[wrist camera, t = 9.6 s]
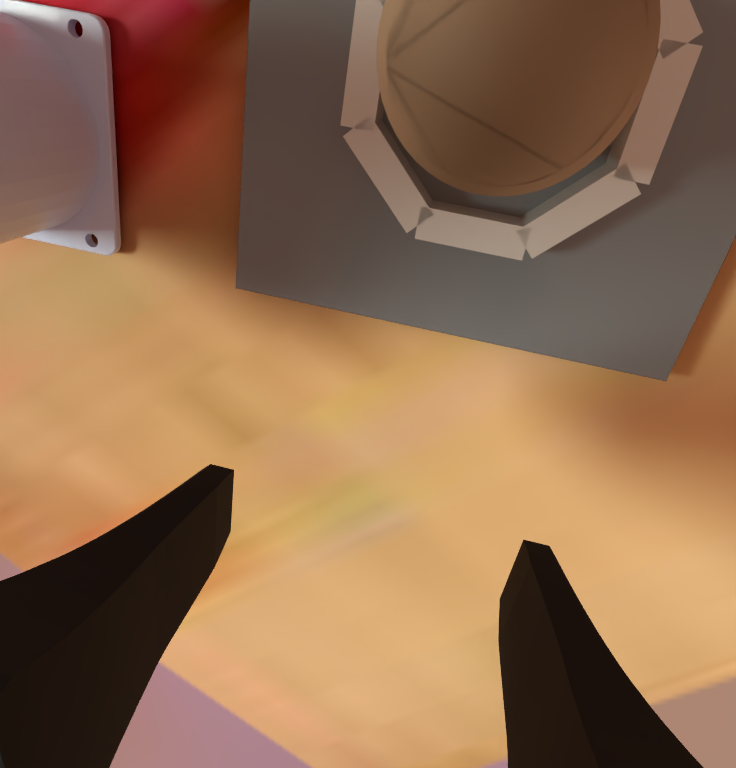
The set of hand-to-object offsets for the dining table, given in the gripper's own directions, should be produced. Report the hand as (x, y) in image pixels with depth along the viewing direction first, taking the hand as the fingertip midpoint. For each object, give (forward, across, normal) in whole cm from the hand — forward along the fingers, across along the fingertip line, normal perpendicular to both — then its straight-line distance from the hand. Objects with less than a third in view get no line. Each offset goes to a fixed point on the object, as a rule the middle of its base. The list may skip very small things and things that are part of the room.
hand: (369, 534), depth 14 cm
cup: (+9, -1, -11) cm, 14 cm away
